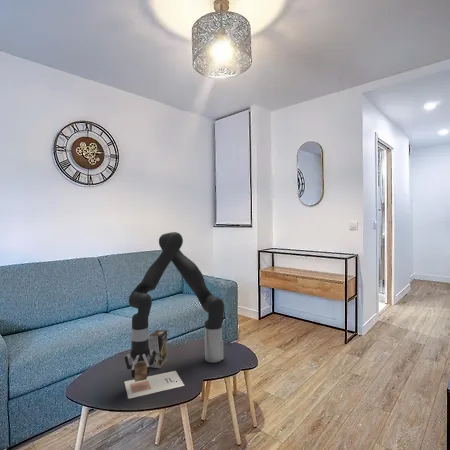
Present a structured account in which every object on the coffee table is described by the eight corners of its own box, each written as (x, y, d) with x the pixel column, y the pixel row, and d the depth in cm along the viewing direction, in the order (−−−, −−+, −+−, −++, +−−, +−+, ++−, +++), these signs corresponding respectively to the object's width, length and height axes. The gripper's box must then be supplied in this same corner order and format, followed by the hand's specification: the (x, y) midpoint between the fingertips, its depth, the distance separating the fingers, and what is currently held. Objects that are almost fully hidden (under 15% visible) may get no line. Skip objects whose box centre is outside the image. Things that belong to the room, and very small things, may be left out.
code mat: (175, 371, 147) (175, 370, 147) (184, 386, 134) (184, 385, 134) (124, 382, 137) (124, 381, 137) (128, 399, 124) (128, 398, 124)
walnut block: (145, 374, 136) (144, 361, 136) (146, 379, 132) (146, 365, 132) (133, 376, 134) (133, 363, 134) (135, 381, 130) (135, 368, 130)
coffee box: (160, 368, 150) (160, 336, 150) (148, 367, 151) (148, 335, 151) (167, 360, 159) (167, 330, 159) (156, 359, 160) (156, 329, 160)
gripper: (154, 332, 139) (154, 369, 139) (122, 337, 133) (122, 375, 133) (158, 338, 133) (158, 376, 132) (124, 343, 127) (124, 383, 127)
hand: (140, 375), depth 133 cm, fingers closed on walnut block, 5 cm apart
